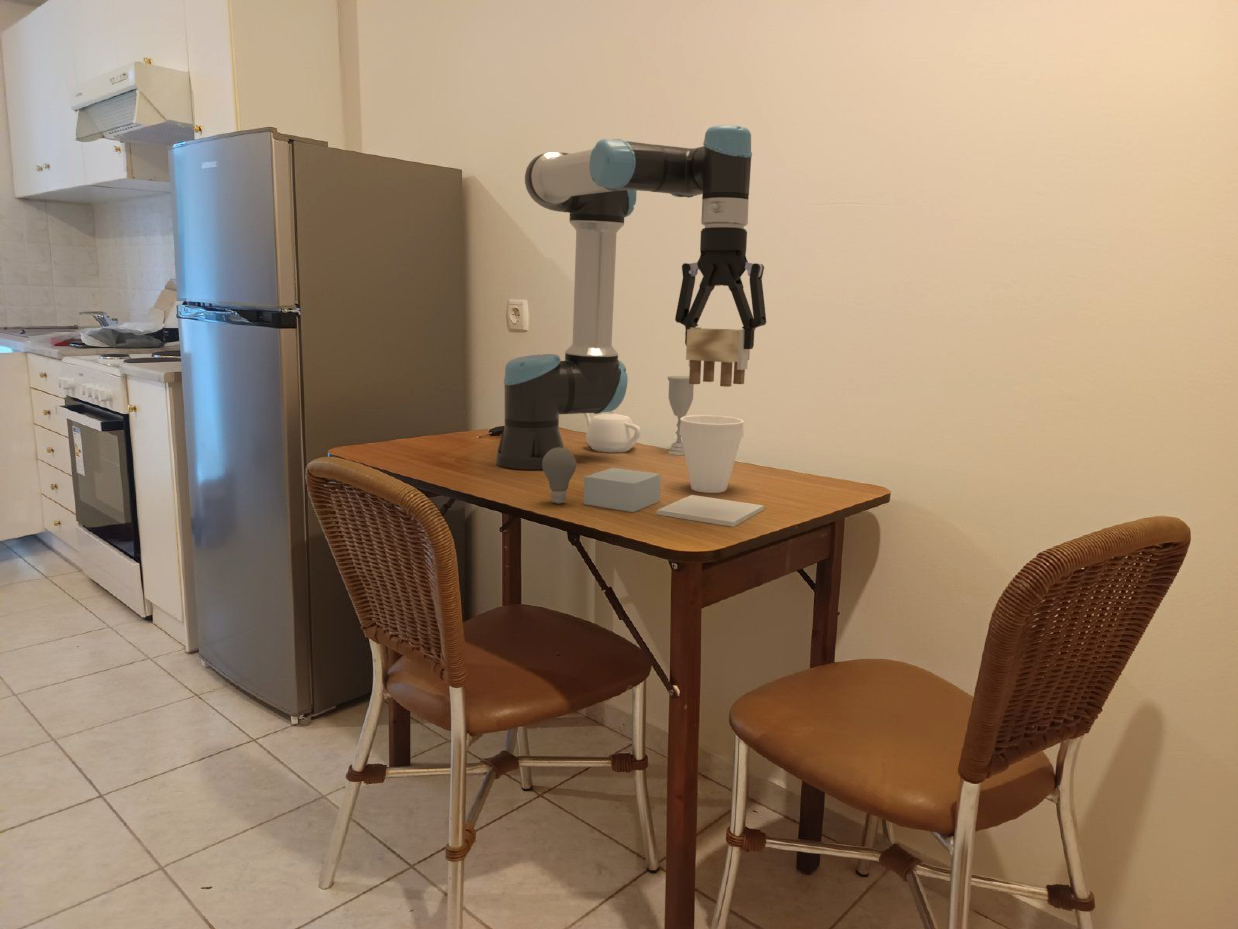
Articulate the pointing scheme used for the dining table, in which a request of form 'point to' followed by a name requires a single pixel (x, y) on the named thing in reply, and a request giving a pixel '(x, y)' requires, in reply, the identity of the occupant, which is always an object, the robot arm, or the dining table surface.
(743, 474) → the dining table surface
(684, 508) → the mat
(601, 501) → the gray square block
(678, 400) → the chalice
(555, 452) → the light bulb
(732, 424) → the cup
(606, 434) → the teapot
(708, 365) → the stool
